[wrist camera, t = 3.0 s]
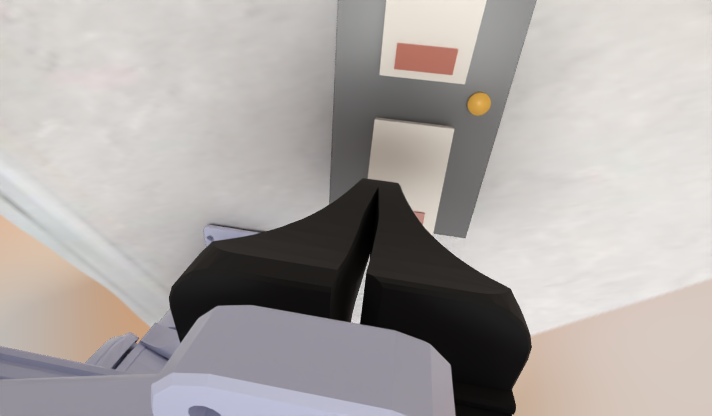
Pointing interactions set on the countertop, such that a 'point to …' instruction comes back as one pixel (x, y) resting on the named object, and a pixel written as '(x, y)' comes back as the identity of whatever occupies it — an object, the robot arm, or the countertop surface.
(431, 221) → the rocker
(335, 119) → the double switch panel
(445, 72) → the rocker
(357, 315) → the countertop surface
